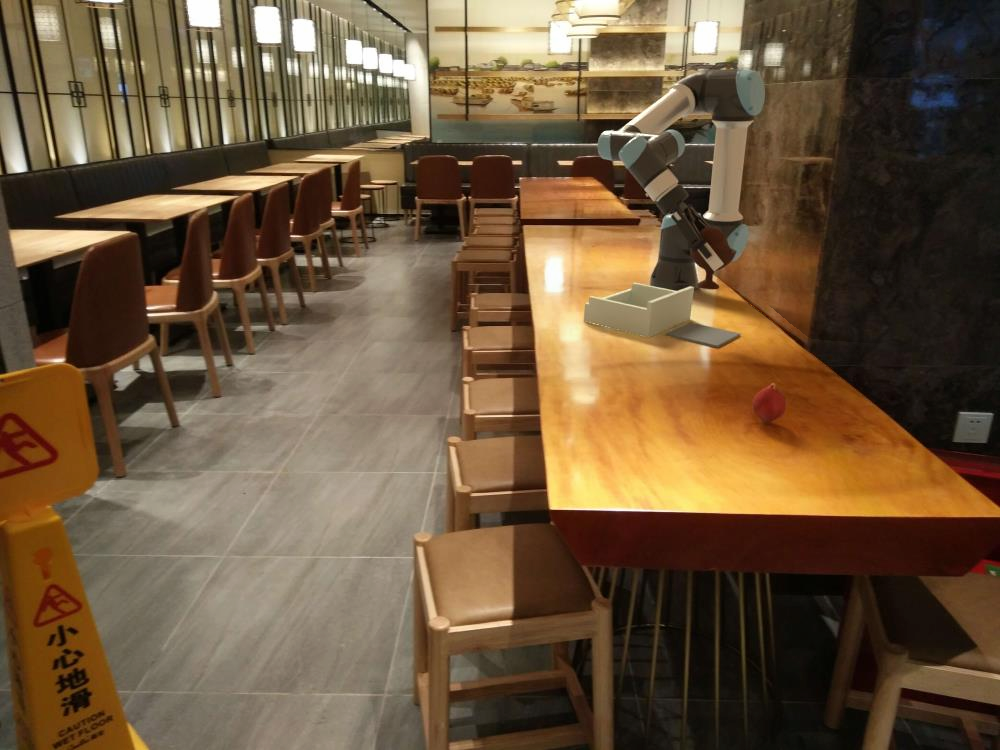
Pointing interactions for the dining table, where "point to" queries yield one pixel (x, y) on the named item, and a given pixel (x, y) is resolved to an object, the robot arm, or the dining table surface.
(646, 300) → the drawer
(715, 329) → the slate mat
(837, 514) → the dining table surface
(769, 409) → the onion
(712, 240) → the ice cream bowl
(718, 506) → the dining table surface
